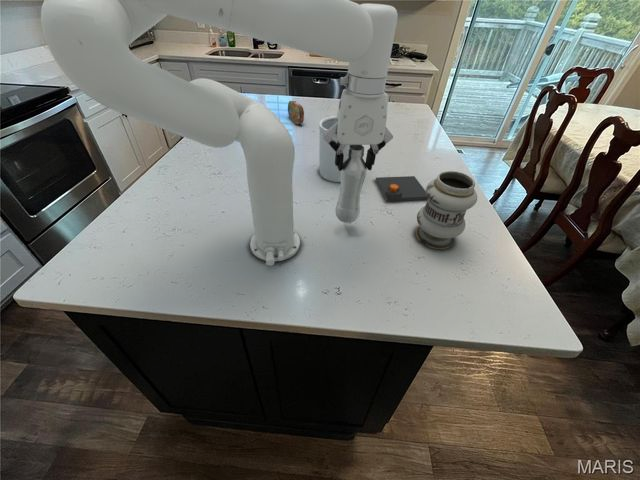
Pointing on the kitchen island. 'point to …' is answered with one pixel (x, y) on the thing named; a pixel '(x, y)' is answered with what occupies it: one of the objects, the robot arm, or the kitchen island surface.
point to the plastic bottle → (351, 184)
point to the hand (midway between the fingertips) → (353, 167)
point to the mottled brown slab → (295, 112)
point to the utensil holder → (329, 152)
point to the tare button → (393, 188)
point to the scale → (401, 189)
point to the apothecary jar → (445, 209)
